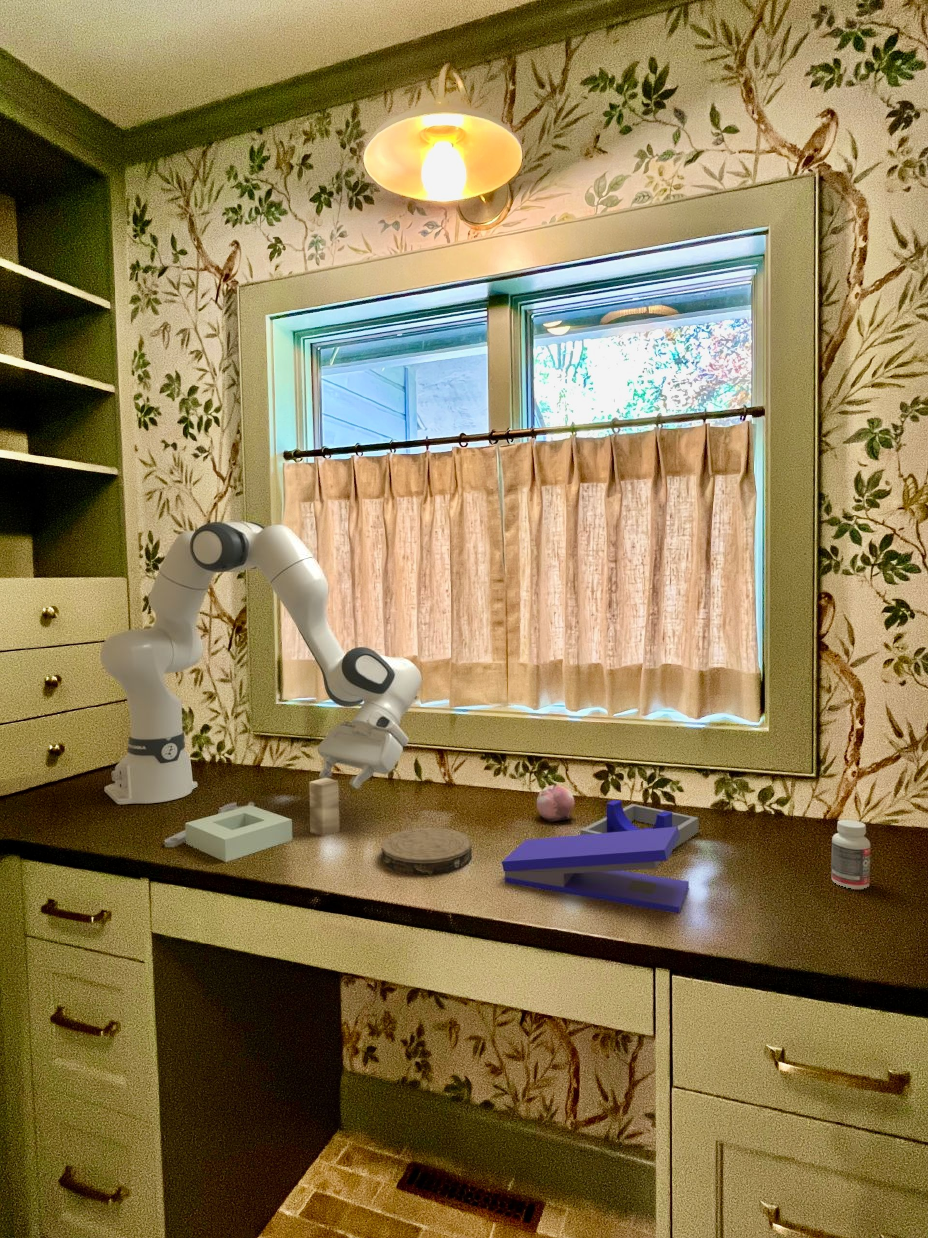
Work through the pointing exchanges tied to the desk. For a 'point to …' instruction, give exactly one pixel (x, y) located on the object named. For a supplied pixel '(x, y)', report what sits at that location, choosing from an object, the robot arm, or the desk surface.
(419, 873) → the wood slice
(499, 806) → the desk surface
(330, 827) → the wooden block
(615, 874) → the stapler
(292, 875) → the desk surface
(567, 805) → the onion
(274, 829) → the pale green square frame
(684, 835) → the clip corral
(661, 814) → the blue cradle holder
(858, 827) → the pill bottle
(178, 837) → the adjustable wrench
